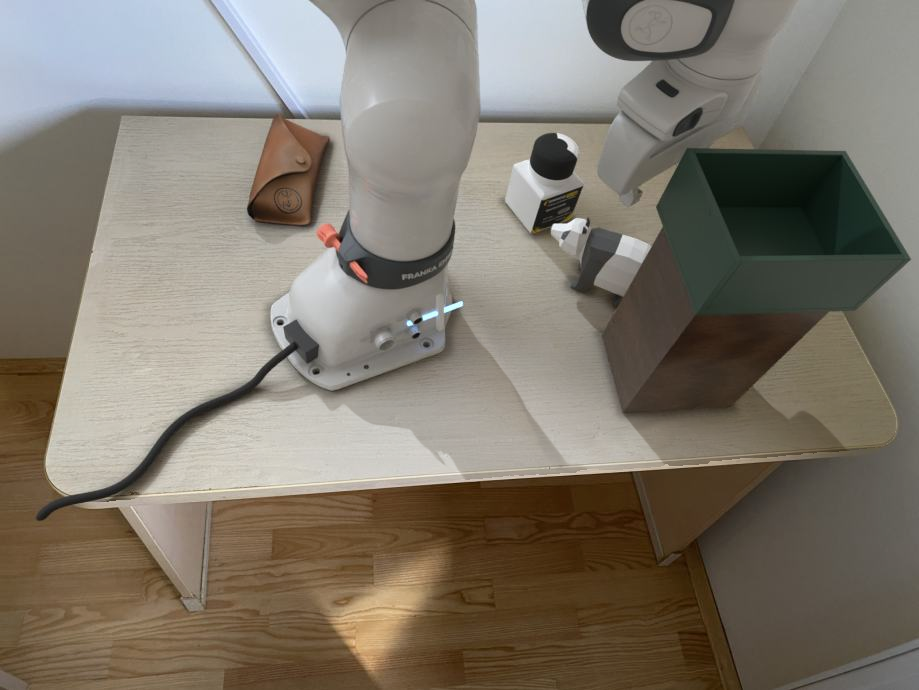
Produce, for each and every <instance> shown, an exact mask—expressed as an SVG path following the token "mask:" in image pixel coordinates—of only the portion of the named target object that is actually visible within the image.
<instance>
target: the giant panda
mask: <svg viewBox="0 0 919 690" xmlns="http://www.w3.org/2000/svg"><path fill="white" fill-rule="evenodd" d="M568 221H569V222H568V223H560V224H552V226H551V227H550V229H549V233H550V236H551V237H553V239H554V240H556V241H557V242H558V244H559V245H558V246H559V248H560V249H561V251H563V252H564V253H566V254H568V255H569V256H571V257H573V258H574V259H576V260H577V261H578V260H579V264H578V265H577V270H578V271H579V276H578V278H574V279H573V280H572V281H571V282H570V288H571V289H573V290H575V291H577V292H580V293H584V294H586V293H588V291H589V290H590V289H591V287H593V286H596V287H598V288H601V289H603V290H605V291H608V292H610V293H612V294H616V295H615V296H614V297H613V298H612V304H613V305H615V306H616V307H618V305H619V304H620V302H621V300H622V298H623V297H624V295H625V293H626V291H627V289H628V288H629V286H630V284H631V282H632V281H633V279H634V277H635V275H636V273H637V272H638V270H639V268H640V266H641V264H642V263H643V261H644V259H645V257H646V256H647V254H648V252H649V250H650V248H651V247H652V245H650V244H649V243H647V242H645V241H643V240H641V239H638V238H636V237H634V236H629V235H625V234H622V233H618V232H615V231H613V230H612V231H611V230H609V229H605V228H602V227H600V226H597V227H594V228H591V219H590V217H589V216H587V218H581V217H580V218H579V217H575V218H574V219H573V220H572V219H571V220H568Z"/></svg>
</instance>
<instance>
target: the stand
mask: <svg viewBox="0 0 919 690" xmlns="http://www.w3.org/2000/svg"><path fill="white" fill-rule="evenodd" d="M651 246H652V247H651V248H650V250H649V252H648V254H647V256H646V257H645V259H644V261H643V263H642V264H641V266H640V268H639V270H638V272H637V273H636V275H635V277H634V279H633V281H632V282H631V284H630V286H629V288H628V289H627V291H626V293H625V295H624V297H623V298H622V300H621V302H620V304H619V305H618V306H616V307H617V308H615V311H614V313H613V314H612V316H611V318H610V320H609V322H608V323H607V325H606V326H605V329H604V330H603V332H602V333H601V338H602V342H603V346H604V349H605V352H606V353H605V354H606V356H607V360H608V364H609V367H610V372H611V375H612V378H613V382H614V386H615V390H616V394H617V397H618V400H619V404H620V408H621V412H622V413H623V414H629V413H646V412H667V411H684V410H703V409H704V410H705V409H721V408H731V407H733V405H735V403H736V402H738V401H739V400H740V399H741V398H742V397H743V396H744V395H745V394H746V393H747V392H748V391H749V390H750V389H751V388H752V387H753V386H754V385H755V384H756V383H757V382H758V381H759V380H760V379H761V378H763V377H764V376H765V375H766V374H767V372H769V371H770V370H771V369H772V368H773V367H774V366H775V365H776V364H777V363H778V362H779V361H780V360H781V359H782V358H783V357H784V356H785V355H786V354H787V353H788V352H789V351H790V350H791V349H793V348H794V346H796V345H797V344H798V343H799V342H800V341H801V340H802V339H803V338H804V337H805V336H806V335H807V334H808V333H809V332H810V331H811V330H812V329H813V328H814V327H815V326H816V325H817V324H818V323H819V322H821V320H823V318H825V317H826V315H828V314H829V312H798V313H762V314H725V315H695V313H694V310H693V307H692V304H691V302H690V299H689V296H688V293H687V291H686V288H685V285H684V283H683V280H682V277H681V274H680V272H679V269H678V266H677V263H676V261H675V258H674V255H673V253H672V250H671V247H670V244H669V242H668V239H667V236H666V233H665V231H664V228H663V226H662V227H661V229H660V230H659V233H658V234H657V236H656V238H655V240H654V241H653V243H652V245H651Z"/></svg>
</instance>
